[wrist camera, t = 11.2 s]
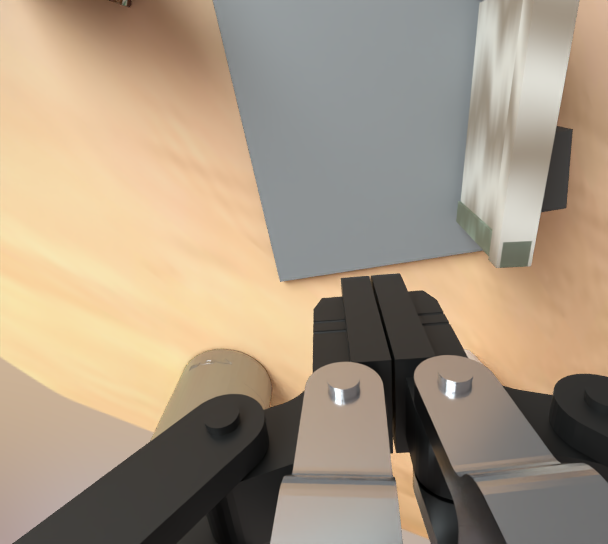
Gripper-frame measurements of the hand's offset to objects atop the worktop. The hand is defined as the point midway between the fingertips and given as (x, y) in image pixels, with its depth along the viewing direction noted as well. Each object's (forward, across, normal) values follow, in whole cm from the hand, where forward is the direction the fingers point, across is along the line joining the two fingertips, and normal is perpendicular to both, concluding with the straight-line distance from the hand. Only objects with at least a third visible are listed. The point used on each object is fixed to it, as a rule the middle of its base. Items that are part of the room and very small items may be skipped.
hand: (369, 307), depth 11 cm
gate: (+22, -10, -2) cm, 24 cm away
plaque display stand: (+23, -4, -2) cm, 24 cm away
